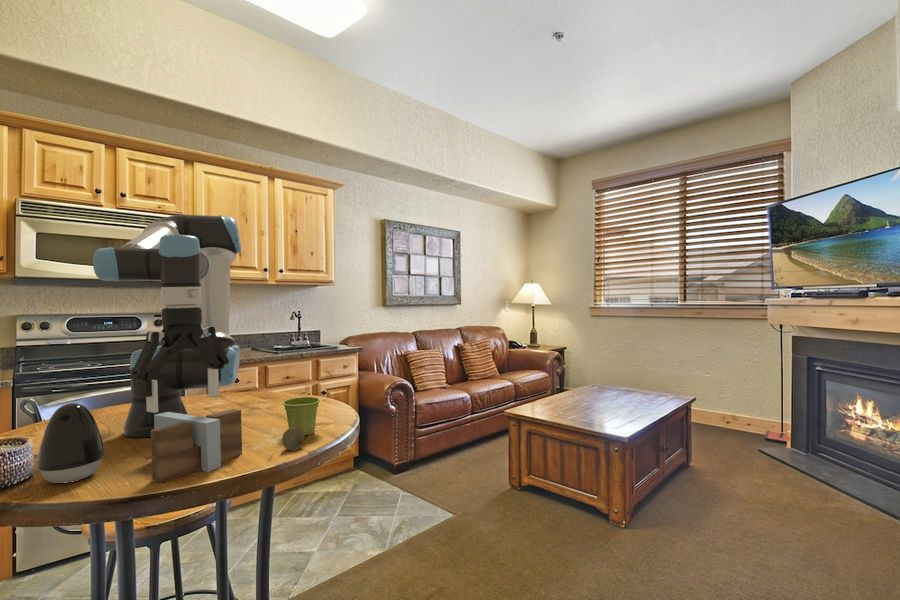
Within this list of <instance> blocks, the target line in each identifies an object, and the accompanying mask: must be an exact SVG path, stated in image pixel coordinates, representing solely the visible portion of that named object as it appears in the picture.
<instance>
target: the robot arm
mask: <svg viewBox="0 0 900 600" xmlns="http://www.w3.org/2000/svg"><path fill="white" fill-rule="evenodd" d="M241 253H242V244H241V239H240V233H239V227H238V223H237V220H236V219H235V218H234V216H233V217H232V216H224V215H221V214H220V215H203V214H201V215H198V214H176V215H169V216H167V217H163V218H159V219H156V220H155V221H152V222H151V223H149V224H147V225H146V227H144V229H143V231H142V233H141V234H139V235H138V236H136V237H134V238H133V239H131V240H129V241H128V242H127V243H125V244H124V245H122V246H120V247H113V246H112V247H111V246H110V247H101V248H98V249H96V251H94V254H93V259H92V267H93V271H94V274H95V276H96V277H97V278H98V279H99V280H101V281H103V282H104V281H105V282H116V283H119V282H148V281H151V282H156V281H157V282H159V281H160V305H161V306H162V307H164V308H162V309H161V325H162V330H161V331H162V332H161V331H160V332H158V331H153V330H152V331H147V332H146V334H145V335H146V336H145V343H144V345H143V347H142V348H141V349H138V350H135V351H133V352H132V353H131V355H130V358H129V359H130V364H129V368H128V369H129V374H130V375H129V378H130V400H131V401H130V408H129V409H128V413H127V416H126V418H125V422H124V425H123V436H124V437H127V438H133V439H134V438H151V430H153V429H155V428H154V415H156V414H160V413H165V412H173V413H179V414H186V415H189V414H188V411H187V409H186V407H185V404H184V401H183V400H182V399H183V398H182V391H183V390H184V391H185V390H186V391H187V390H197V389H207V390H208V391H207V393H208V397H209V398H220V390H219V389H220V388H221V387H229V386H231V385H233V384H234V383H235V381H236V380H237V378H238V373H239V367H240V362H241V361H240V360H241V347H240V346H239V345H237V344H236V343H235V339H234V338H233V337H232V336H231V335H230V309H231V308H230V306H231V305H230V304H231V303H230V299H231V298H230V297H231V264H232V262H234V261H235V260H236V259H237V254H241ZM162 340H163V341H164V342H163V344H162V345H159V343H160V342H161V341H162Z"/></svg>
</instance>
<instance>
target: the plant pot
mask: <svg viewBox="0 0 900 600" xmlns="http://www.w3.org/2000/svg"><path fill="white" fill-rule="evenodd" d="M320 402H321V398H319V397H316V396H299V397H292V398H289V399H286V400H283V401H282V405H283V407H284V409H285V412H286V413H285V414H286V419H287V424H288V425H287V426H288V429H289V428H298V429H300V430H301V431H302V432H303V434H304V436H311V435H313V434H314V433H315V429H316V419H317V411H318V408H319V403H320Z"/></svg>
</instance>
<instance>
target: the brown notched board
mask: <svg viewBox="0 0 900 600" xmlns="http://www.w3.org/2000/svg"><path fill="white" fill-rule="evenodd" d="M205 417H206V418H213V419H220V446H221V462H223V461H226V460H229V459H232V458H234V457H236V456H239V455H242V454H243V436H242V434H243V433H242V427H243V426H242V409H237V408H231V409H227V410H223V411H218V412H215V413H211V414H207V415H206V416H205ZM150 447H151V448H150V450H151V454H150V455H151V481H152V480H153V481H152V482H154V481H156V482H155V483H157V482H158V484H161V483H162V484H164V483H166V481H167V482H170V481H172V480H174V479H177V478H181V477H182V476H183V477H184V476H186V475H189V474H190V473H194V472H196V471H200V470H201V446H197V445H193V423H189V422H180V423H176V424H172V425H169V426H165V427H161V428H157V429H153V430H151V437H150ZM169 480H170V481H169Z"/></svg>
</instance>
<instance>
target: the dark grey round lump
mask: <svg viewBox="0 0 900 600" xmlns="http://www.w3.org/2000/svg"><path fill="white" fill-rule="evenodd" d="M305 439H306V438H305V435H304V434H303V432H302V431H301V430H300V429H298V428H289V427H288V428H287V430H285V431H284V432H283V434H282V438H281V443H282V445H283V447H284V448H285V449H286V450H289V451H292V452H293V451H297V450H299V449H300V448H301V447H303V445H304V443H305Z"/></svg>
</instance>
